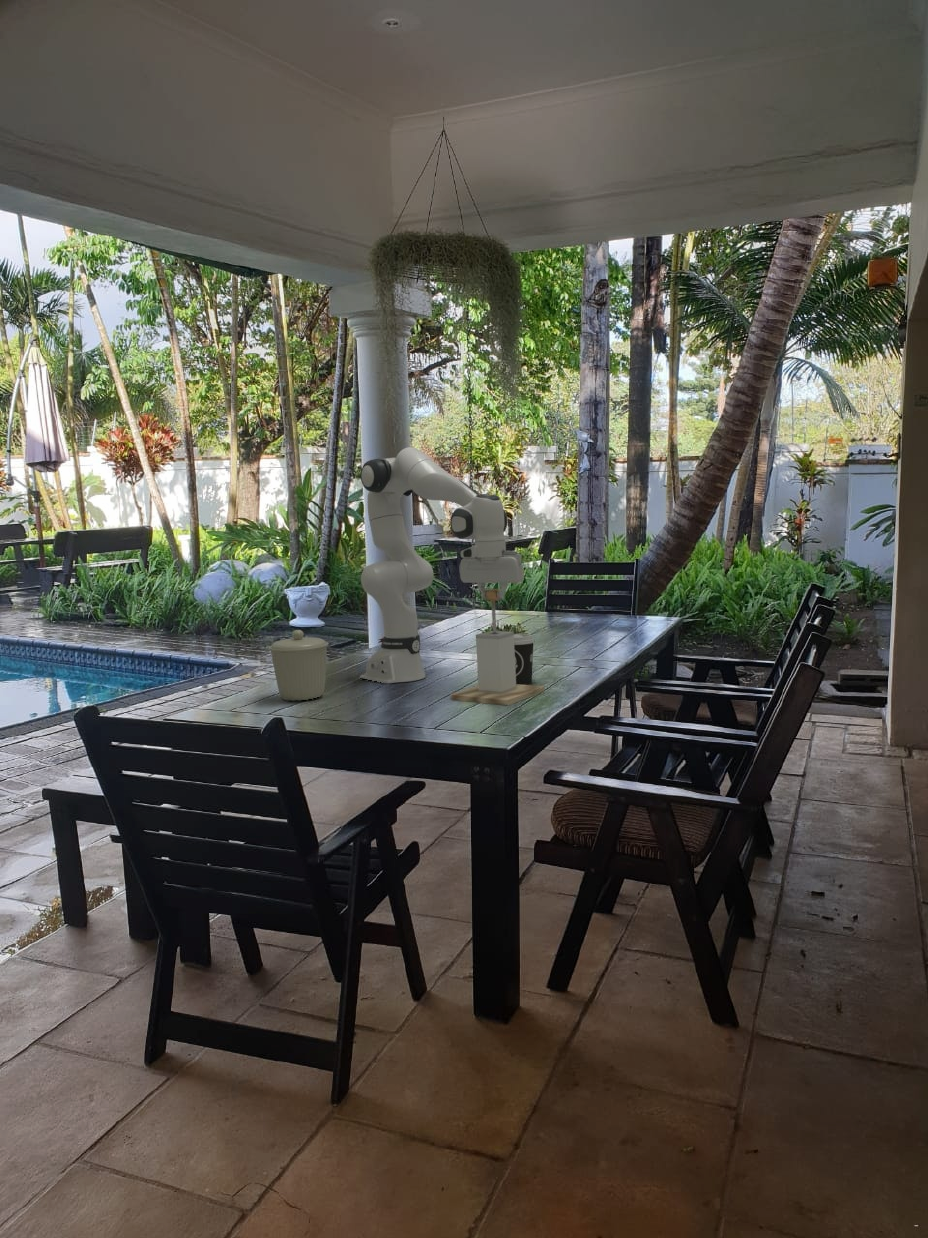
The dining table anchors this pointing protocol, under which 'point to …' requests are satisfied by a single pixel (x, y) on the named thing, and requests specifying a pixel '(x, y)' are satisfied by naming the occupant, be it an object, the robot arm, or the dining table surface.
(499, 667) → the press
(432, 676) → the dining table surface
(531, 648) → the coffee cup
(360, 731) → the dining table surface
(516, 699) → the board
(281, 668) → the canister
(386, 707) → the dining table surface
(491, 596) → the plunger
